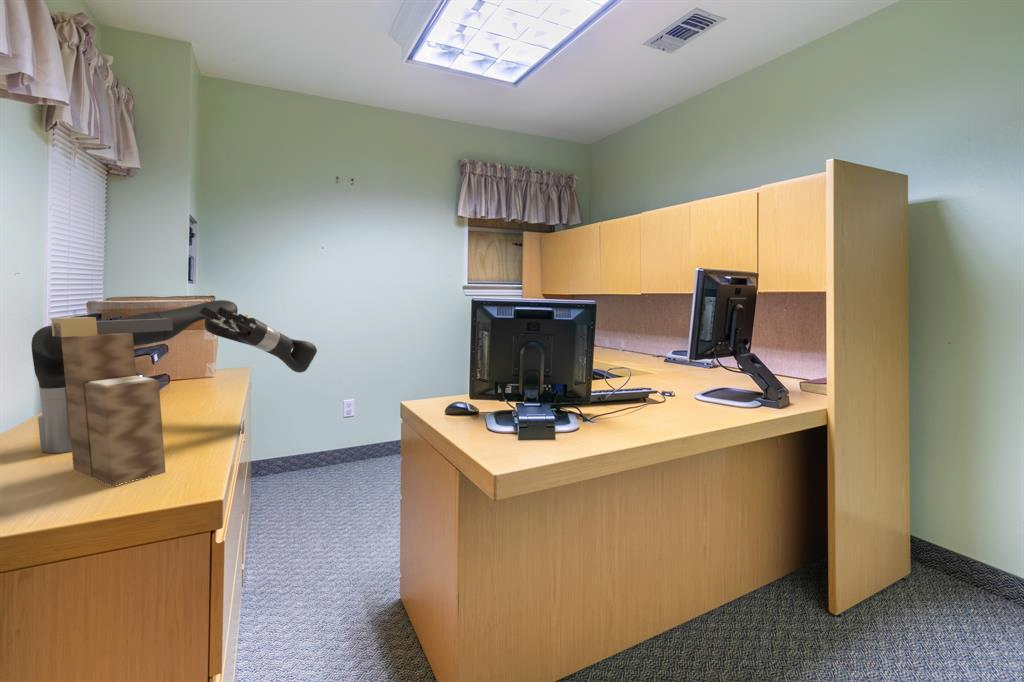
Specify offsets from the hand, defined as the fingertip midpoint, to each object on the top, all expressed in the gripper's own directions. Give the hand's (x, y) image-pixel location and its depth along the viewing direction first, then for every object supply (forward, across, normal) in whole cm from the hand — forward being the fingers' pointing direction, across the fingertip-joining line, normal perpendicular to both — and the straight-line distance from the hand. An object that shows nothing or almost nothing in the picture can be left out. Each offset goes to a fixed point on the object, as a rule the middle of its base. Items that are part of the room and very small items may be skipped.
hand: (209, 309), depth 133 cm
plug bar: (+16, 0, +15) cm, 22 cm away
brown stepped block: (+4, +5, +45) cm, 45 cm away
